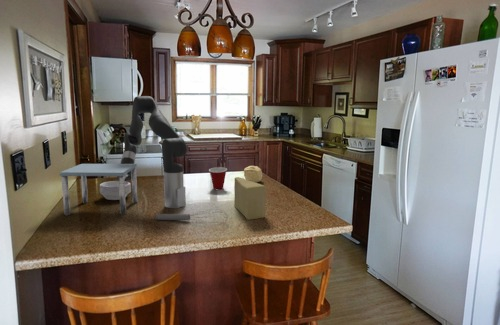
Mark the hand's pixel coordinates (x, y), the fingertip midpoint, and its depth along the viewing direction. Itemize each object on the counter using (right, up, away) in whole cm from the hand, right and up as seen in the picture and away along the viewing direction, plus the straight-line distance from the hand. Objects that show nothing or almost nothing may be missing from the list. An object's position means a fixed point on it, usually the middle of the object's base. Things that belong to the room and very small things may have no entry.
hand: (122, 185), depth 192 cm
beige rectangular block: (+70, -11, -32) cm, 77 cm away
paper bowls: (+1, -6, -11) cm, 12 cm away
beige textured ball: (+74, 0, +31) cm, 80 cm away
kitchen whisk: (+46, -13, -46) cm, 67 cm away
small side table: (+2, -9, -29) cm, 30 cm away
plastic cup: (+53, -3, +12) cm, 54 cm away
